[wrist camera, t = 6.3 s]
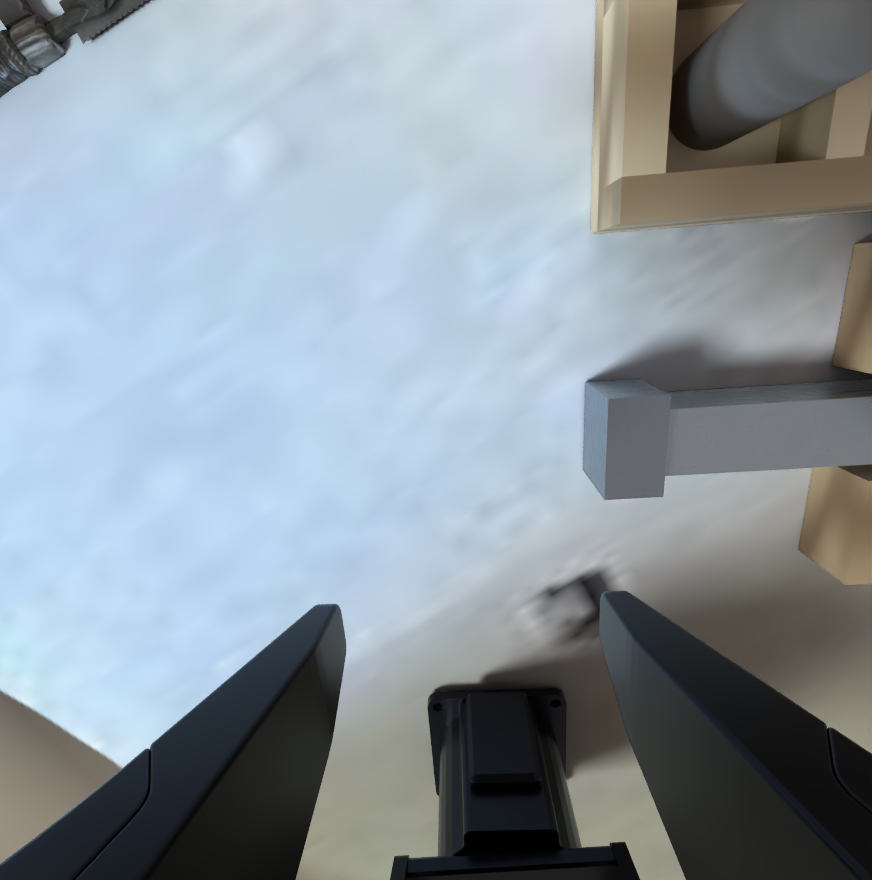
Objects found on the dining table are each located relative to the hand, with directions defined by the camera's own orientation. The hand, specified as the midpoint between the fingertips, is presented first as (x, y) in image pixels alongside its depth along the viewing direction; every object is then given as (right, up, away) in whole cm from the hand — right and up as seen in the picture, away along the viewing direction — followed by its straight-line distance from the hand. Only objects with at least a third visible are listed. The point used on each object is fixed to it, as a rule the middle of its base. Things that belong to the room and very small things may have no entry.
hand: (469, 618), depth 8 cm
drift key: (+11, +4, +10) cm, 16 cm away
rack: (+11, +14, +7) cm, 19 cm away
